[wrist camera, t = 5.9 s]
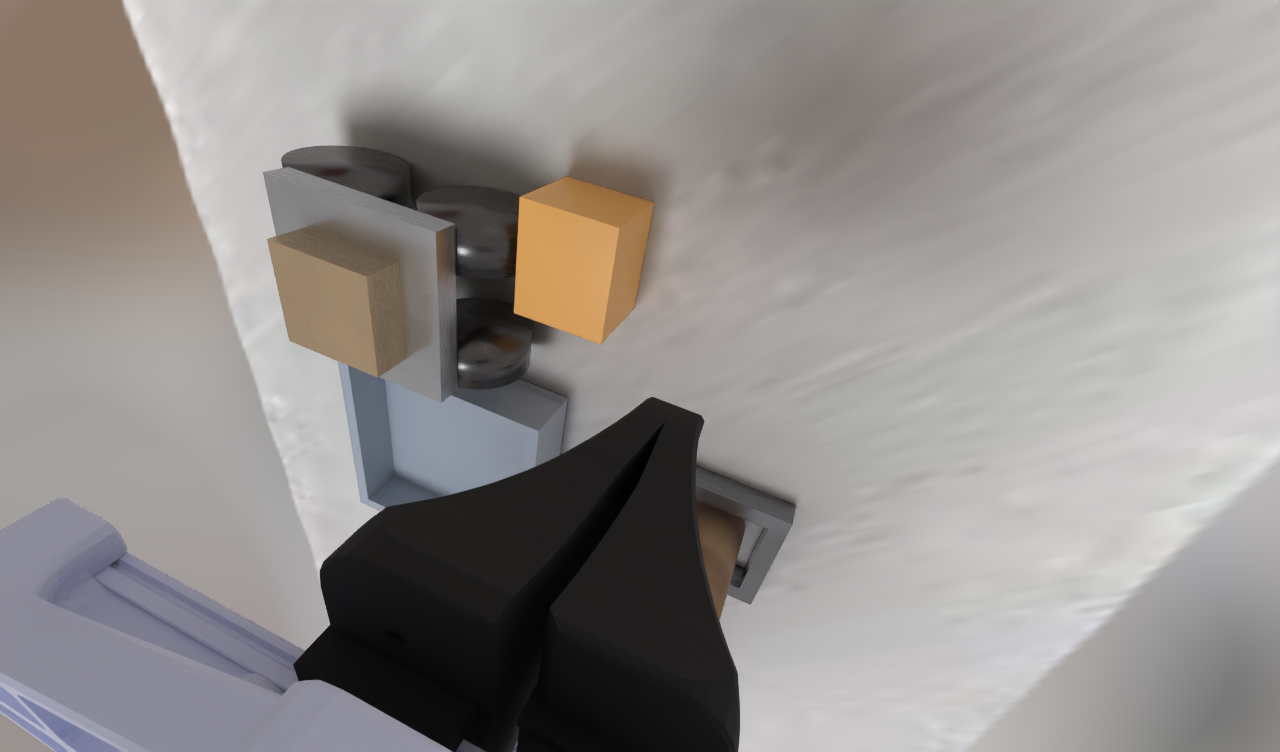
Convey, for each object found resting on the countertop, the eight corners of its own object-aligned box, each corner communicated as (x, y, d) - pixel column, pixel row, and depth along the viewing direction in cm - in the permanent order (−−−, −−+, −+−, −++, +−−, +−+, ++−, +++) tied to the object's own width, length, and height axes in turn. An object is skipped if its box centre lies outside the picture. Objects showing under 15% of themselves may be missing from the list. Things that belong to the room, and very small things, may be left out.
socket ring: (755, 585, 28) (750, 604, 27) (645, 537, 29) (637, 554, 28) (795, 505, 24) (792, 524, 24) (669, 454, 26) (661, 471, 25)
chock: (635, 306, 23) (600, 344, 20) (557, 280, 23) (513, 313, 20) (655, 201, 20) (619, 227, 17) (567, 175, 21) (519, 196, 18)
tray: (548, 542, 32) (523, 579, 30) (394, 472, 35) (360, 501, 32) (568, 398, 26) (538, 431, 24) (378, 323, 28) (335, 347, 26)
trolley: (547, 354, 25) (454, 441, 20) (363, 284, 27) (232, 345, 22) (562, 206, 21) (451, 263, 16) (345, 137, 23) (180, 166, 18)
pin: (734, 553, 27) (703, 662, 23) (678, 529, 28) (636, 630, 23) (752, 514, 26) (722, 622, 21) (692, 489, 26) (650, 589, 21)
